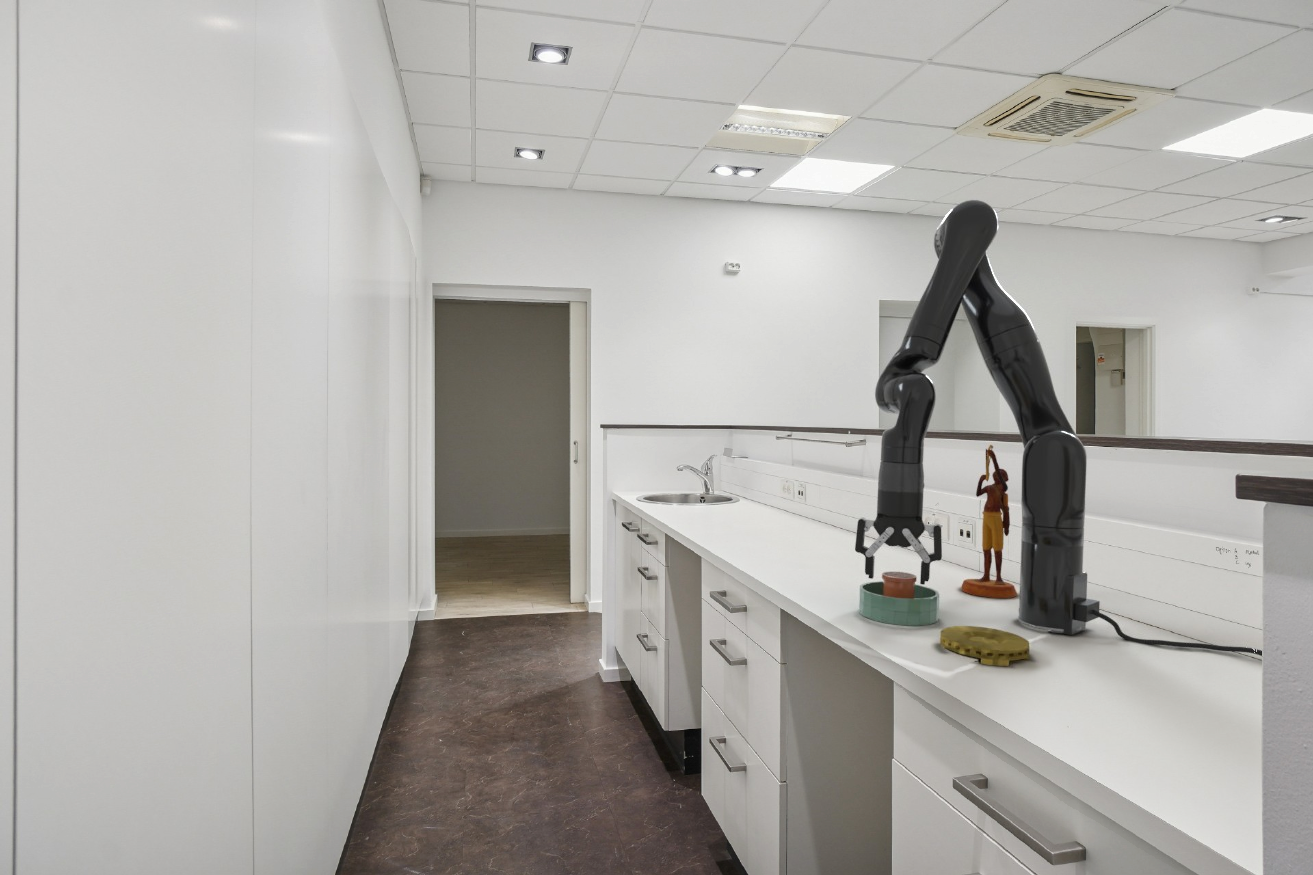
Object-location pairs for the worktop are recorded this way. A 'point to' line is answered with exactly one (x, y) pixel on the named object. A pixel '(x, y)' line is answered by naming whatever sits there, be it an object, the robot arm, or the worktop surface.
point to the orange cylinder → (899, 584)
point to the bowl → (899, 605)
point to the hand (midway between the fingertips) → (896, 580)
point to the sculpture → (992, 533)
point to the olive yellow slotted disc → (985, 644)
